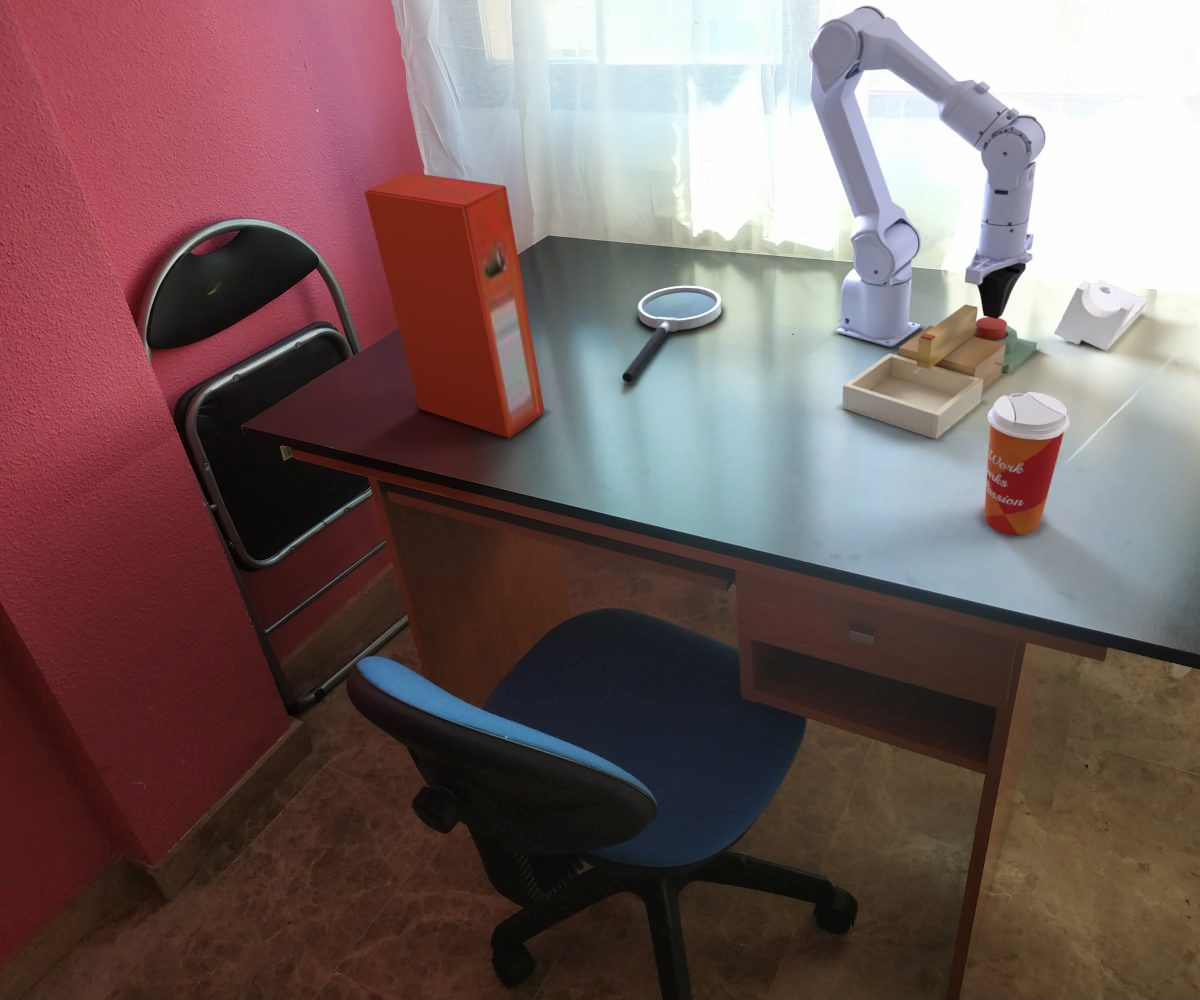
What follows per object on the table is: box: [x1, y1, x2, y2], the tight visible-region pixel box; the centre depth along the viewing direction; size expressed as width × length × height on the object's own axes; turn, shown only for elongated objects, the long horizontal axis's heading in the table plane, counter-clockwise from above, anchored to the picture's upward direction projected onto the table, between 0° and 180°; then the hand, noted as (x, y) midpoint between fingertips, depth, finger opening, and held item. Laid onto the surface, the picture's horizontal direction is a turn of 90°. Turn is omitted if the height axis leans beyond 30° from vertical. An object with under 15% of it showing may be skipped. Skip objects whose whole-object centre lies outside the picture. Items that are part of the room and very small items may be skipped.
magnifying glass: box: [622, 285, 722, 384], centre depth 153 cm, size 13×31×2 cm, turn 158°
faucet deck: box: [891, 325, 1006, 391], centre depth 132 cm, size 16×16×5 cm
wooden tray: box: [841, 352, 983, 440], centre depth 128 cm, size 14×11×3 cm
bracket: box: [1053, 278, 1149, 351], centre depth 138 cm, size 13×7×8 cm, turn 138°
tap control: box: [973, 325, 1038, 374], centre depth 137 cm, size 10×8×3 cm
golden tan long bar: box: [917, 304, 979, 369], centre depth 129 cm, size 12×2×4 cm, turn 135°
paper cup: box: [984, 391, 1070, 536], centre depth 103 cm, size 8×8×14 cm
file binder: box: [363, 171, 545, 439], centre depth 131 cm, size 8×17×32 cm, turn 52°
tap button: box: [975, 316, 1008, 341], centre depth 136 cm, size 4×4×2 cm
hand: (992, 315), depth 135 cm, fingers closed
